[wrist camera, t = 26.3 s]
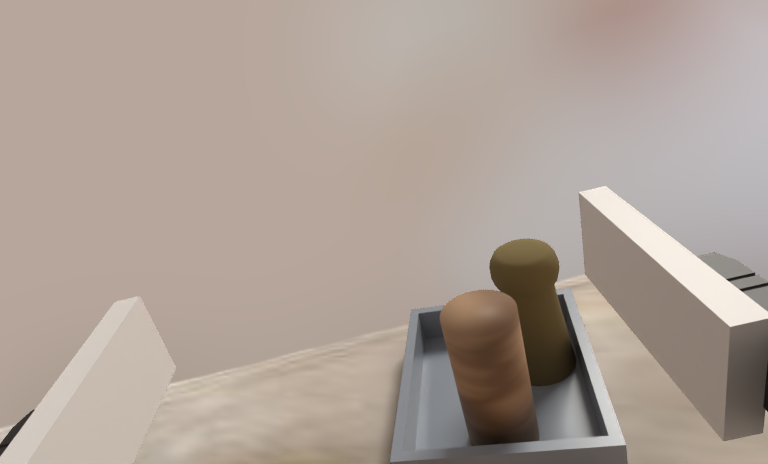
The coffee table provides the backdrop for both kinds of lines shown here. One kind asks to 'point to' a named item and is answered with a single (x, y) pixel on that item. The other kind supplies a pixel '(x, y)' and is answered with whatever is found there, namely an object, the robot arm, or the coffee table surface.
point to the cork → (536, 307)
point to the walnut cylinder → (490, 367)
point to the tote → (552, 402)
